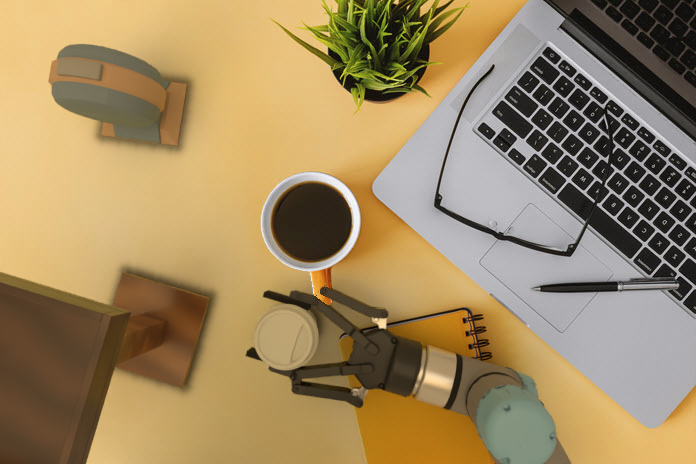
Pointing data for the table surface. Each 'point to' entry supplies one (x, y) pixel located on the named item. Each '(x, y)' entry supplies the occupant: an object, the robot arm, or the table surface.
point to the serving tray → (53, 370)
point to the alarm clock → (118, 93)
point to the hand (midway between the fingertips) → (257, 322)
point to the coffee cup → (286, 336)
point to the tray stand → (159, 328)
